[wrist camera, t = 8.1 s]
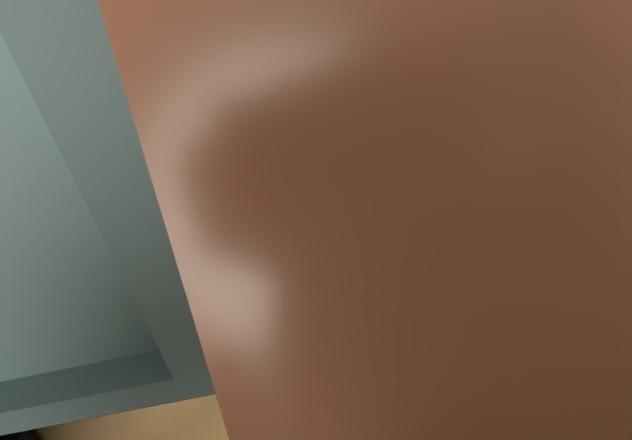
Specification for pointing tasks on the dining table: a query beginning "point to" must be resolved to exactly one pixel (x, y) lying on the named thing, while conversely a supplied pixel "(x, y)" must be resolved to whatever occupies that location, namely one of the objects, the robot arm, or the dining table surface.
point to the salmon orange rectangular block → (396, 209)
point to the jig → (81, 234)
